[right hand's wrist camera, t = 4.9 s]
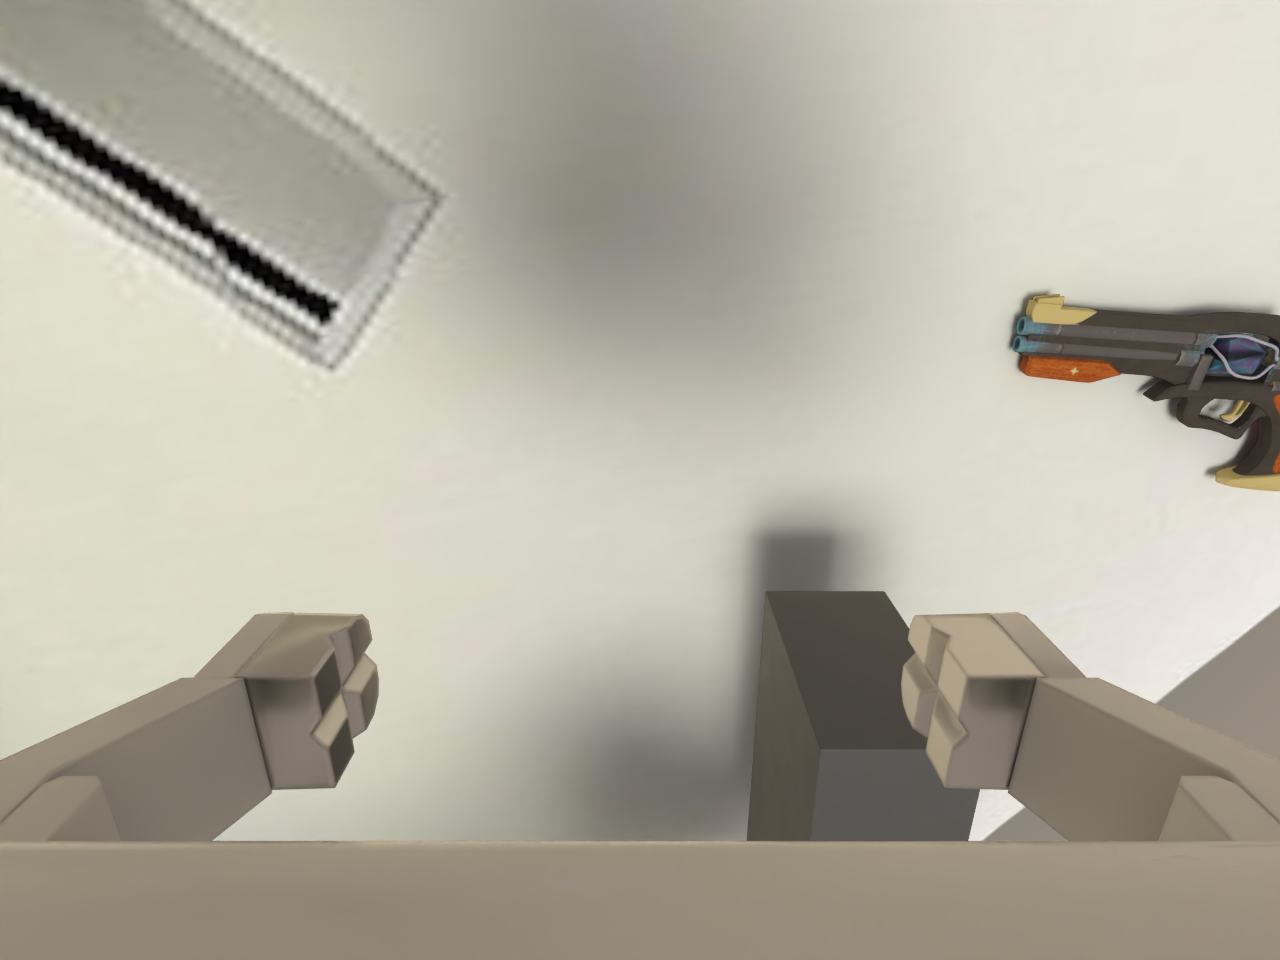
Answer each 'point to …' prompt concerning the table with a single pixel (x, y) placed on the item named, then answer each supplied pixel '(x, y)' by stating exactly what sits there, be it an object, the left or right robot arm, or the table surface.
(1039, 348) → the toy gun
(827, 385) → the table surface
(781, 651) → the box
